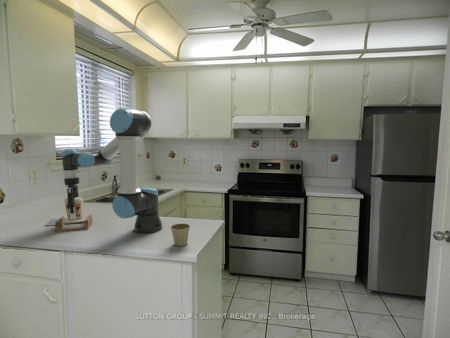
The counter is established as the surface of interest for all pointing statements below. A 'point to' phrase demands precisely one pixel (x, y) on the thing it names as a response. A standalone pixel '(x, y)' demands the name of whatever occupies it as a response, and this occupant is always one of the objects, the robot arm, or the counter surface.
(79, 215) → the coffee cup
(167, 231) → the counter surface
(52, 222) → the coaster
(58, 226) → the cradle
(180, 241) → the flower pot
